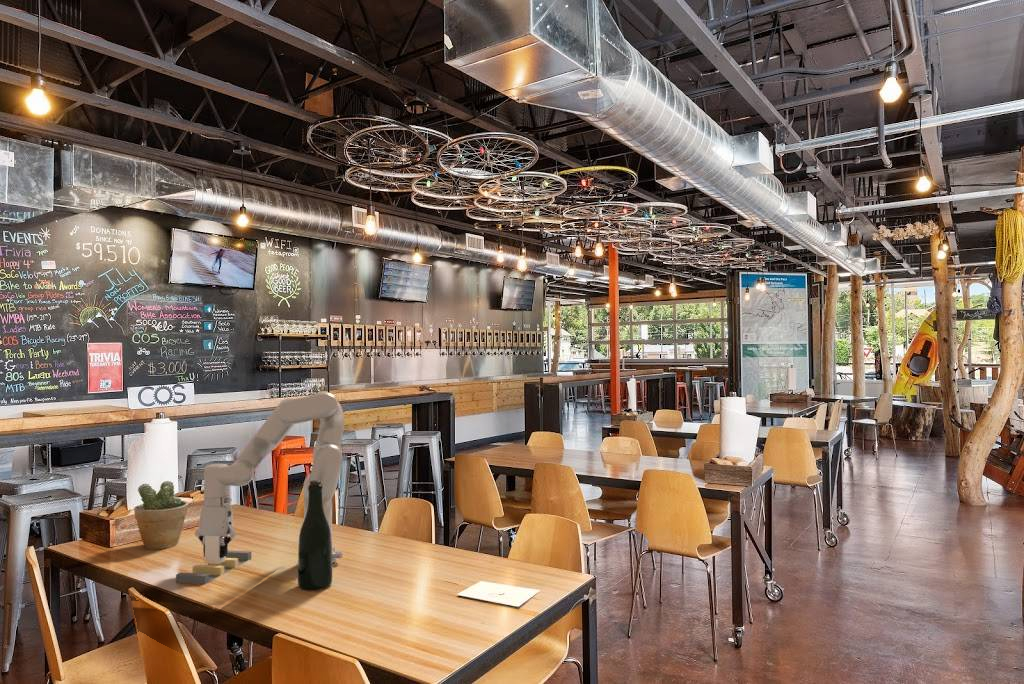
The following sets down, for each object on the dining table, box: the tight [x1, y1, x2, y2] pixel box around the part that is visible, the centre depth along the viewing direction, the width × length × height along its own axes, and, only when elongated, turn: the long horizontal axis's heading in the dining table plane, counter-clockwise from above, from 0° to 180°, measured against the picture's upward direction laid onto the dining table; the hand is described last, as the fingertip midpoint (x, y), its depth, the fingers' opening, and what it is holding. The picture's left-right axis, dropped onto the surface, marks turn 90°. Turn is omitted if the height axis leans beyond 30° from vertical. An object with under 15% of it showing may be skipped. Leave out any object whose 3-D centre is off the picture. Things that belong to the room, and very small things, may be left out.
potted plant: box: [133, 480, 189, 551], centre depth 247 cm, size 18×19×25 cm
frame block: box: [204, 536, 226, 564], centre depth 211 cm, size 5×4×9 cm
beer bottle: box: [297, 480, 333, 592], centre depth 200 cm, size 10×10×33 cm
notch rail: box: [175, 550, 252, 585], centre depth 211 cm, size 10×26×4 cm, turn 172°
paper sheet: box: [456, 580, 541, 607], centre depth 197 cm, size 24×29×1 cm
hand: (215, 555), depth 211 cm, fingers closed on frame block, 5 cm apart
